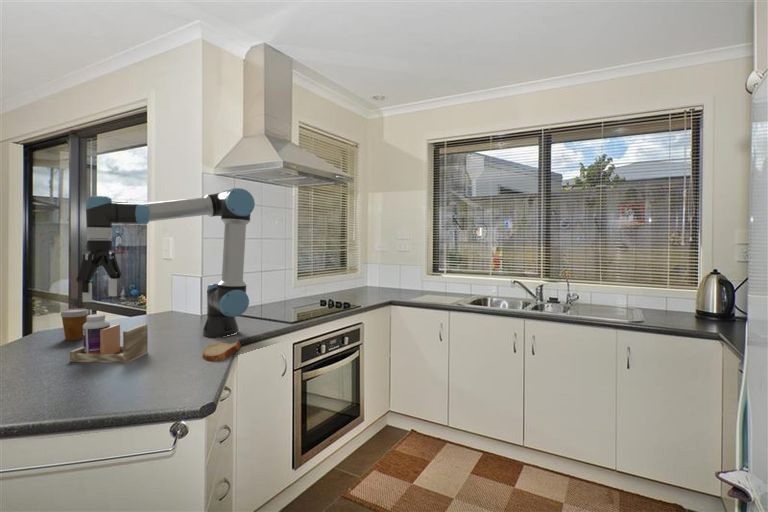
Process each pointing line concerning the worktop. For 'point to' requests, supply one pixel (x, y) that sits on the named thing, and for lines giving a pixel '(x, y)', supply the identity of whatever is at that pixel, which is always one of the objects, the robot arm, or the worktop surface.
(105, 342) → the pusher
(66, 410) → the worktop surface
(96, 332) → the pill bottle
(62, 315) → the disposable coffee cup
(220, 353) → the slice of bread
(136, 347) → the lane
